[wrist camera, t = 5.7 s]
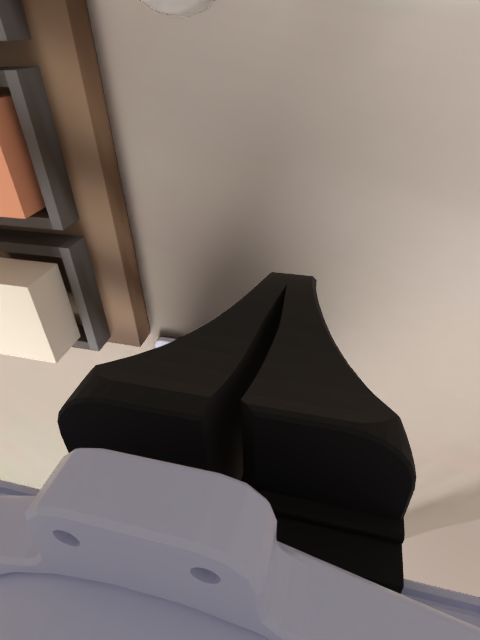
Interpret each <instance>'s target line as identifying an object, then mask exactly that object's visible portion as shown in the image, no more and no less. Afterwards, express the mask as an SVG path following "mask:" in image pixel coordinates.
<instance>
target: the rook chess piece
mask: <svg viewBox="0 0 480 640" xmlns="http://www.w3.org/2000/svg"><path fill="white" fill-rule="evenodd" d="M140 1H142V2H143V3H145V4H146V5H148V6H149V7H151V8H152V9H154V10H155V11H157V12H159V13H165V14H167V15H174V16H182V17H189V16H192V15H194V14H196V13H199V12H201V11H204V10H206V9H208V7H209V6H210V5H211V4H212V3H213V2H214V1H215V0H140Z"/></svg>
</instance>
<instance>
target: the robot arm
mask: <svg viewBox="0 0 480 640" xmlns="http://www.w3.org/2000/svg"><path fill="white" fill-rule="evenodd" d="M58 425H59V429H60V433H61V436H62V438H63V440H64V443H65V445H66V447H67V450H68V452H69V454H67V455H66V456H64V457H63V458H62V459H61V461H60V462H59V464H58V465H57V467H56V468H55V470H54V471H53V472H52V474H51V475H50V477H49V478H48V480H47V481H46V483H45V484H44V485H43V487H42V488H41V490H39V489H35V488H31V487H27V486H23V485H19V484H15V483H11V482H7V481H3V480H0V640H480V597H476V596H472V595H468V594H464V593H460V592H456V591H452V590H448V589H444V588H440V587H436V586H431V585H427V584H423V583H419V582H415V581H411V580H407V579H403V561H402V543H403V541H404V535H405V534H404V515H405V513H406V510H407V507H408V505H409V502H410V500H411V497H412V494H413V492H414V489H415V482H416V472H415V465H414V460H413V456H412V452H411V448H410V445H409V441H408V438H407V435H406V432H405V430H404V427H403V424H402V422H401V419H400V417H399V416H398V415H397V414H396V413H395V412H394V411H393V410H391V409H390V408H389V407H388V406H387V405H386V404H384V403H383V402H382V401H381V400H380V399H379V398H378V397H376V396H375V395H374V394H373V393H372V392H371V391H370V390H369V389H368V388H367V387H366V385H365V384H364V383H363V382H362V381H361V379H360V378H359V377H358V376H357V374H356V373H355V372H354V371H353V369H352V368H351V367H350V366H349V364H348V363H347V361H346V360H345V358H344V357H343V355H342V354H341V352H340V350H339V349H338V347H337V345H336V344H335V342H334V340H333V338H332V336H331V334H330V332H329V330H328V327H327V325H326V323H325V320H324V318H323V315H322V312H321V309H320V306H319V302H318V298H317V293H316V279H315V278H314V277H313V276H304V275H294V274H284V273H274V272H272V273H270V274H269V275H268V276H267V277H266V278H265V279H263V280H262V281H261V282H260V283H259V284H258V285H257V286H256V287H255V288H254V289H253V290H251V291H250V292H249V293H248V294H247V295H246V296H244V297H243V298H242V299H241V300H240V301H238V302H237V303H236V304H235V305H234V306H232V307H231V308H230V309H228V310H227V311H225V312H224V313H223V314H221V315H220V316H219V317H217V318H216V319H214V320H212V321H211V322H209V323H208V324H206V325H204V326H202V327H201V328H199V329H197V330H195V331H193V332H191V333H189V334H187V335H185V336H183V337H181V338H178V339H173V338H166V337H159V338H158V339H157V340H156V342H155V349H152V350H149V351H146V352H143V353H140V354H137V355H134V356H131V357H127V358H123V359H119V360H116V361H112V362H108V363H104V364H100V365H95V367H94V368H93V369H92V370H91V371H90V372H89V373H88V375H87V376H86V377H85V378H84V379H83V381H82V382H81V383H80V385H79V386H78V387H77V388H76V390H75V391H74V392H73V394H72V395H71V396H70V398H69V399H68V400H67V401H66V403H65V404H64V405H63V407H62V408H61V410H60V411H59V414H58Z"/></svg>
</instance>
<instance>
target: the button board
mask: <svg viewBox="0 0 480 640" xmlns="http://www.w3.org/2000/svg"><path fill="white" fill-rule="evenodd" d="M0 92H10V93H11V96H12V99H13V102H14V106H15V109H16V112H17V115H18V118H19V122H20V125H21V128H22V131H23V135H24V138H25V141H26V144H27V147H28V151H29V154H30V157H31V160H32V163H33V167H34V170H35V173H36V176H37V180H38V183H39V186H40V189H41V192H42V196H43V199H44V202H45V205H46V207H45V208H43V209H41V210H40V211H38V212H36V213H35V214H33V215H31V216H30V217H28V218H26V219H21V218H9V217H0V257H1V258H10V259H19V260H28V261H37V262H47V263H56V264H58V267H59V270H60V274H61V277H62V280H63V283H64V286H65V289H66V292H67V295H68V299H69V302H70V305H71V308H72V311H73V314H74V317H75V320H76V323H77V327H78V330H79V333H80V336H81V337H80V338H79V339H78V340H77V341H76V342H75V343H74V344H73V345H72V347H75V348H82V349H88V350H94V351H100V349H101V348H102V347H103V346H104V344H105V343H106V342H112V343H119V344H125V345H132V346H139V347H141V345H142V344H143V342H144V341H145V340H146V338H147V337H148V335H149V334H150V329H149V324H148V319H147V314H146V309H145V304H144V299H143V293H142V288H141V283H140V278H139V273H138V268H137V263H136V257H135V252H134V247H133V242H132V237H131V232H130V227H129V222H128V216H127V211H126V206H125V201H124V196H123V191H122V186H121V180H120V175H119V170H118V165H117V160H116V155H115V150H114V144H113V139H112V134H111V129H110V124H109V119H108V114H107V109H106V103H105V98H104V93H103V88H102V83H101V78H100V73H99V67H98V62H97V57H96V52H95V47H94V42H93V37H92V31H91V26H90V21H89V16H88V11H87V6H86V1H85V0H0Z"/></svg>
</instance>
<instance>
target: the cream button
mask: <svg viewBox="0 0 480 640" xmlns="http://www.w3.org/2000/svg"><path fill="white" fill-rule="evenodd" d="M80 337H81V336H80V333H79V330H78V327H77V323H76V320H75V317H74V314H73V311H72V308H71V305H70V302H69V299H68V295H67V292H66V289H65V286H64V283H63V280H62V277H61V274H60V270H59V267H58V264H56V263H47V262H37V261H28V260H19V259H10V258H1V257H0V354H4V355H10V356H16V357H22V358H28V359H34V360H40V361H46V362H52V363H57V362H58V361H59V360H60V359H61V358H62V357H63V355H64V354H65V353H66V352H67V351H68V350H69V349H70V348H71V347H72V345H73V344H74V343H75V342H76V341H77V340H78V339H79V338H80Z"/></svg>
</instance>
